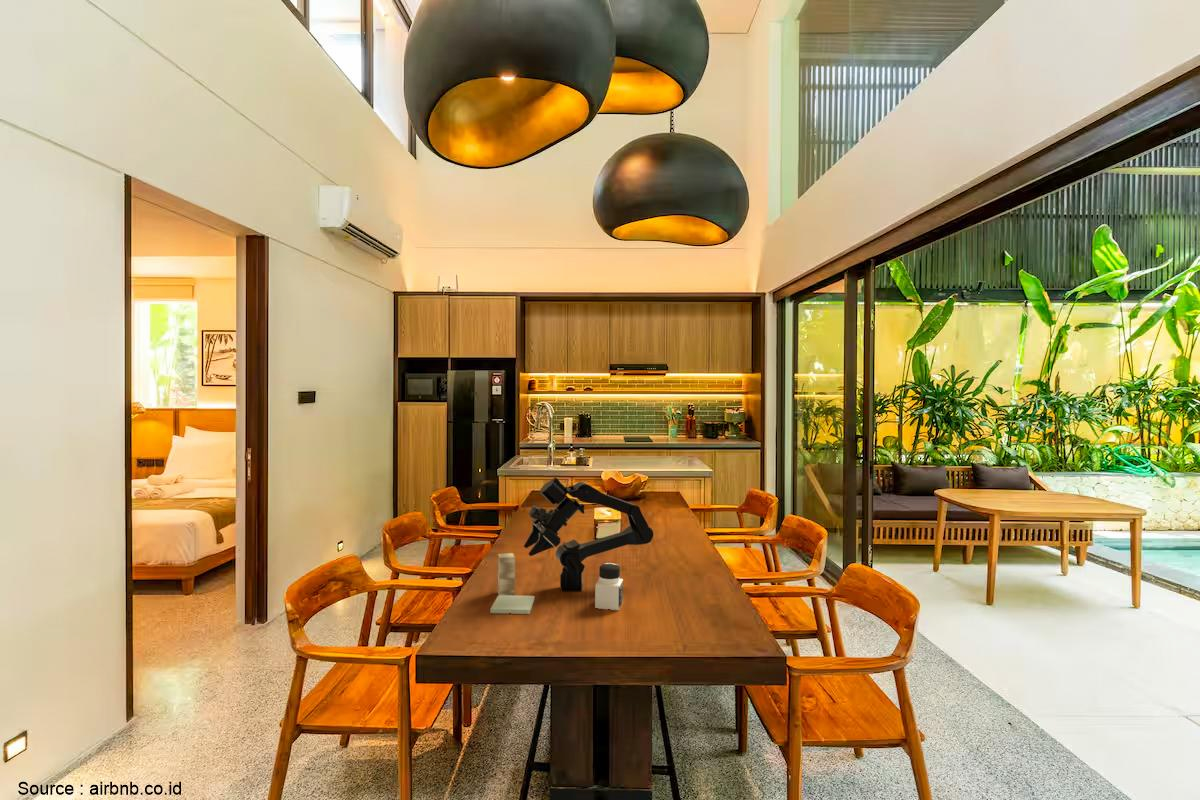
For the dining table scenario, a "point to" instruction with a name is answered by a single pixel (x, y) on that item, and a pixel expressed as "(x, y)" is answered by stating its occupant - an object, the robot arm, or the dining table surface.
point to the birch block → (506, 574)
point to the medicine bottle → (609, 587)
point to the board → (512, 604)
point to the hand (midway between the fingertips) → (527, 551)
